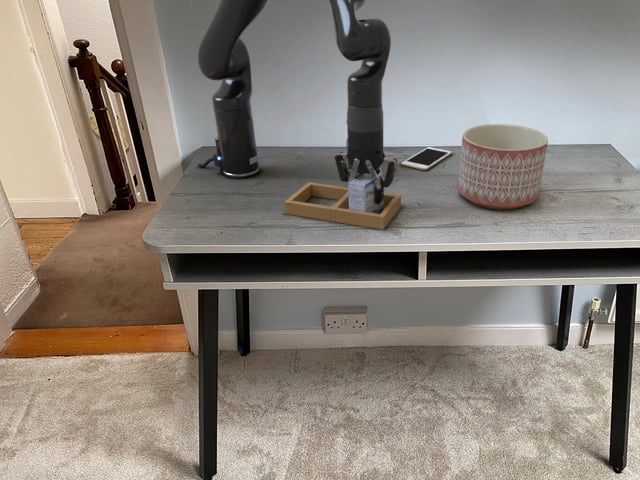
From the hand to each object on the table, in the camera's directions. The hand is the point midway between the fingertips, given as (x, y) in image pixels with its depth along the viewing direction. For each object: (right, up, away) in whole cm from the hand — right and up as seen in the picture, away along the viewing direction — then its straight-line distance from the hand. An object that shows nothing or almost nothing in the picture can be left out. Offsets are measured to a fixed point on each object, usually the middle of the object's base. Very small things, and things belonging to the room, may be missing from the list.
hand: (366, 200), depth 124 cm
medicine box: (0, -3, +2) cm, 3 cm away
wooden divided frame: (-5, -2, +3) cm, 6 cm away
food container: (-1, +12, +25) cm, 28 cm away
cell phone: (+16, +17, +32) cm, 39 cm away
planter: (+32, +3, +10) cm, 33 cm away
